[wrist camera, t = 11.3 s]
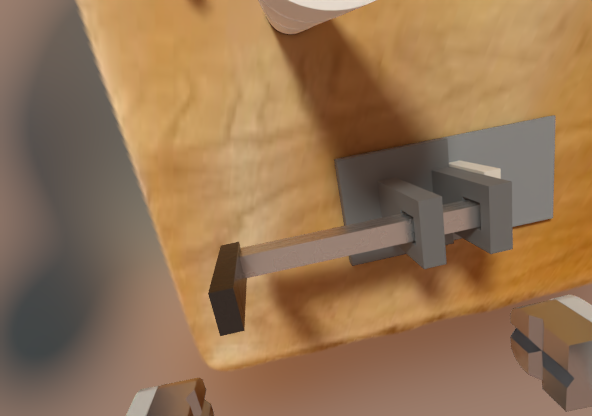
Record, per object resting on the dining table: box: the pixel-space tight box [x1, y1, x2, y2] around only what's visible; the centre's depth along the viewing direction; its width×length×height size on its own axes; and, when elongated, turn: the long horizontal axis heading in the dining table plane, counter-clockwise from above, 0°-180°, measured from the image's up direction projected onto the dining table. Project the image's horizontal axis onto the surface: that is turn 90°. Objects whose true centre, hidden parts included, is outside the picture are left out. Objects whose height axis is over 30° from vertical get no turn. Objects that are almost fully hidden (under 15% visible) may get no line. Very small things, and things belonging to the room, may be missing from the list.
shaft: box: [208, 199, 481, 336], centre depth 27 cm, size 23×3×8 cm, turn 100°
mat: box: [443, 116, 555, 240], centre depth 39 cm, size 13×12×1 cm
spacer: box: [449, 161, 501, 179], centre depth 35 cm, size 2×6×6 cm, turn 11°
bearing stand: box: [334, 138, 513, 269], centre depth 33 cm, size 12×12×10 cm
